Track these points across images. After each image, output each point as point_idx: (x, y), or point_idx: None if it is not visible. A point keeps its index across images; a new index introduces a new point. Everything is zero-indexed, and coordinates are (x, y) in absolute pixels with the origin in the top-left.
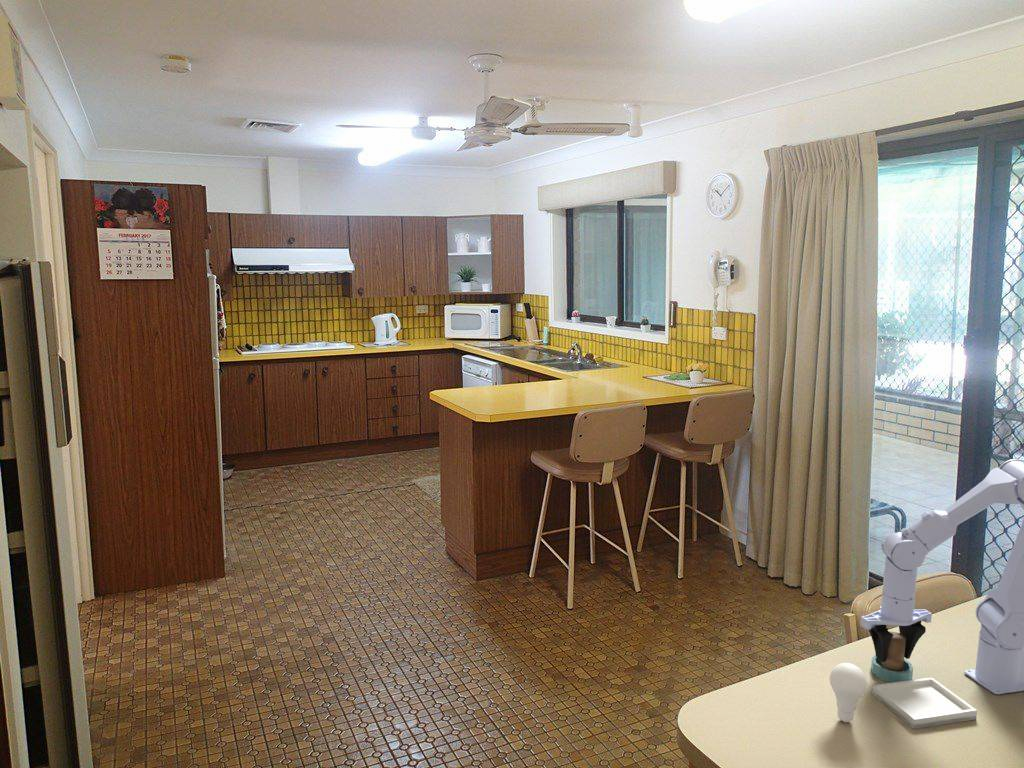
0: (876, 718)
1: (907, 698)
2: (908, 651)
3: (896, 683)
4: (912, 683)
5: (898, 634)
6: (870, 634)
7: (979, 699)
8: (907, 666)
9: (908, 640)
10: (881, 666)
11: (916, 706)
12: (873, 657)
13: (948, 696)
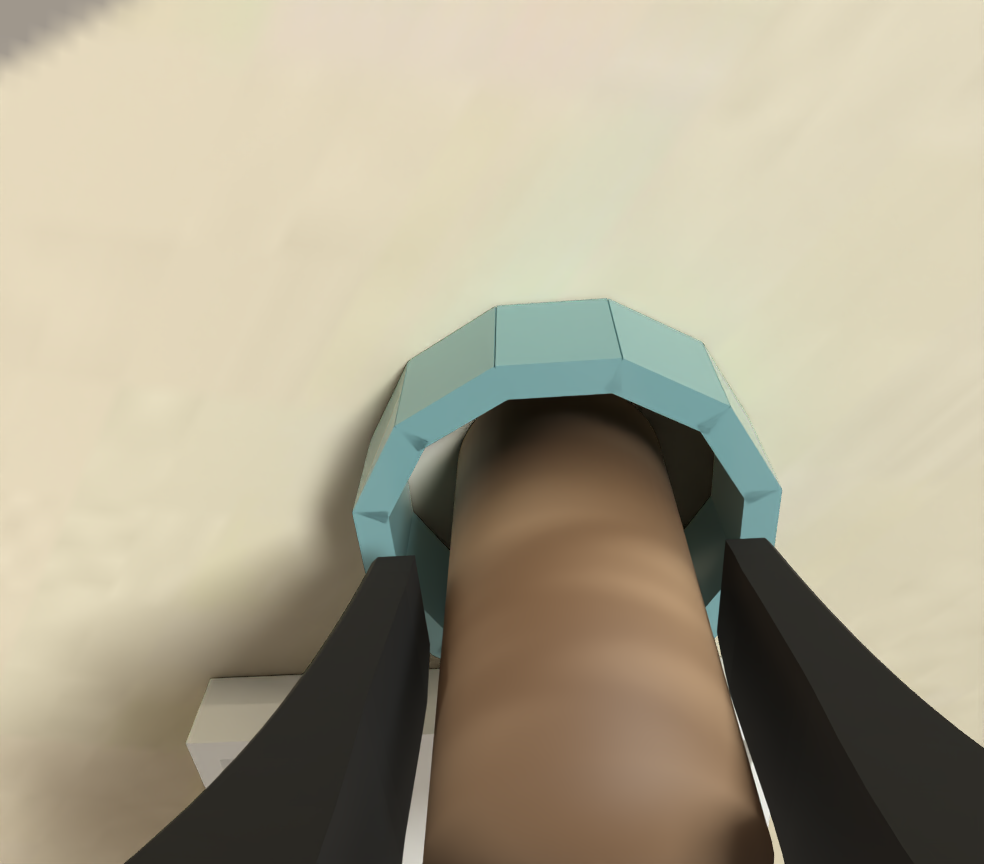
0: (127, 845)
1: (417, 799)
2: (744, 723)
3: None
4: None
5: (711, 847)
6: (204, 793)
7: None
8: None
9: (800, 840)
10: (456, 493)
11: (422, 856)
12: (420, 420)
13: None
